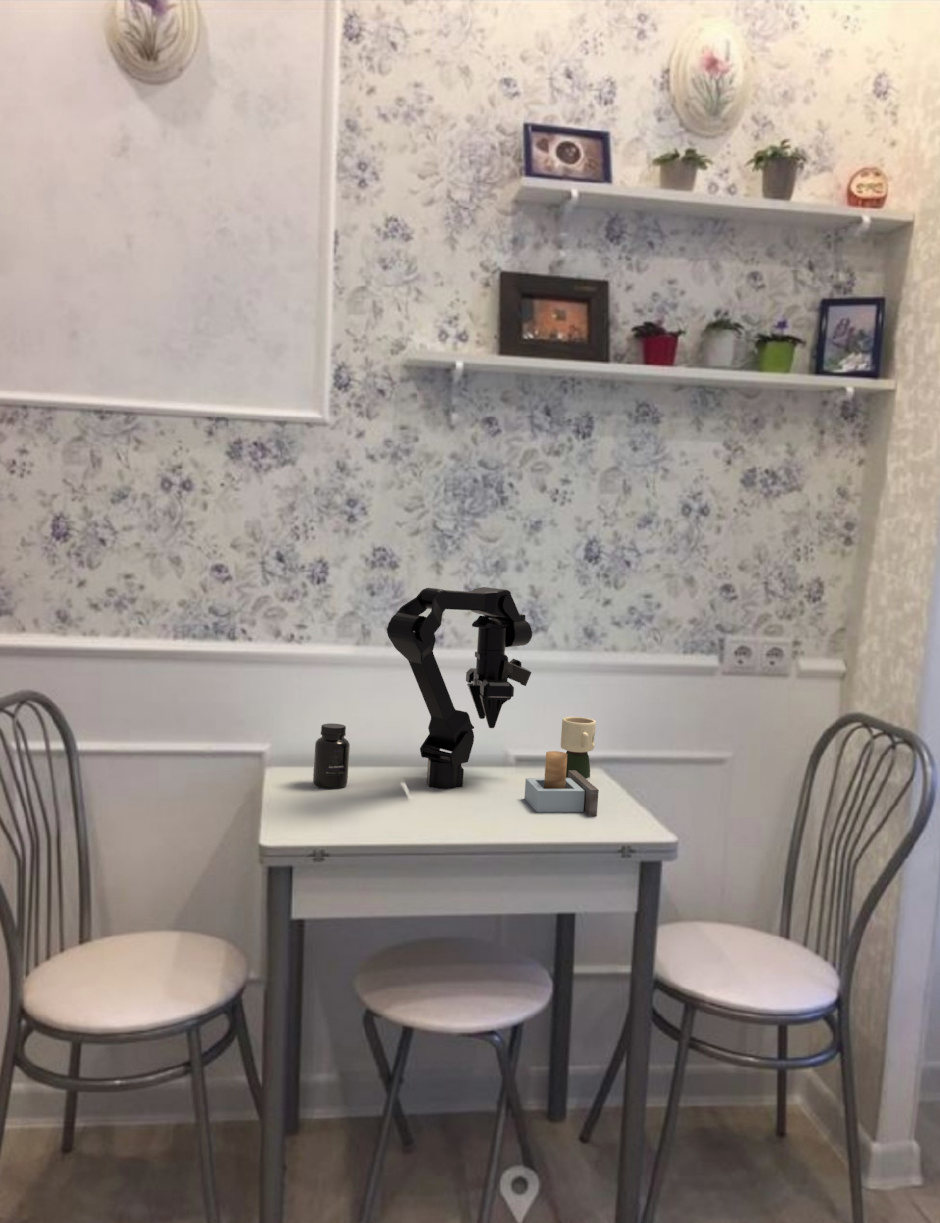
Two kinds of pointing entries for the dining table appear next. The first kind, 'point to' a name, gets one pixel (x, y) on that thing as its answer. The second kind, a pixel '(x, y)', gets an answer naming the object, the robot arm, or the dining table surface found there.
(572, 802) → the sliding block
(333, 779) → the supplement bottle
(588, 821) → the dining table surface
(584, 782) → the base board
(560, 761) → the dowel
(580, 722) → the character mug
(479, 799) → the dining table surface
